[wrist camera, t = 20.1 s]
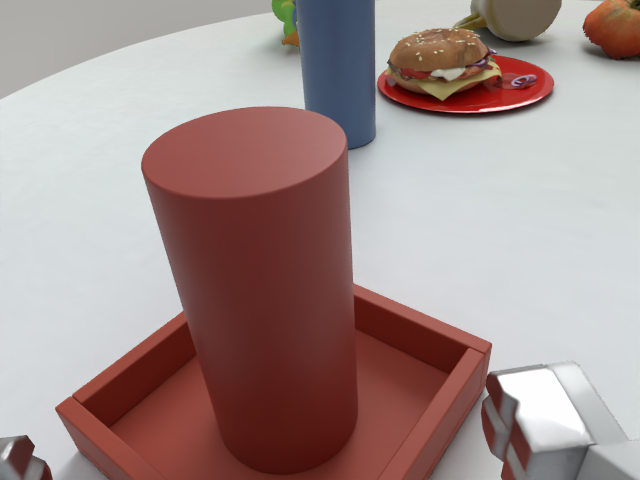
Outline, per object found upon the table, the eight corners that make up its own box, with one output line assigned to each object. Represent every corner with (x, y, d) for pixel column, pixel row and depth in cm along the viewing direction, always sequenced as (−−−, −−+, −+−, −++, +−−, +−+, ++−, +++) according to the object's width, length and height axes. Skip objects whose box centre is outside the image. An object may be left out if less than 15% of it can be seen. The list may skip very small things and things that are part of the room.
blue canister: (349, 156, 34) (343, -10, 29) (293, 140, 37) (277, -15, 31) (388, 129, 37) (389, -26, 32) (334, 116, 40) (326, -30, 34)
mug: (504, 19, 60) (557, -66, 51) (523, 82, 55) (585, 1, 47) (443, 8, 58) (488, -81, 50) (458, 72, 54) (510, -14, 45)
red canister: (223, 491, 16) (133, 216, 10) (215, 371, 20) (146, 121, 14) (376, 454, 17) (373, 174, 11) (339, 344, 20) (321, 95, 15)
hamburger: (460, 134, 36) (469, 44, 32) (345, 82, 46) (341, 9, 42) (591, 85, 41) (610, 3, 38) (463, 48, 51) (468, -19, 48)
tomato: (569, 40, 46) (606, -38, 46) (564, 72, 52) (596, 4, 52) (668, 64, 43) (708, -19, 43) (650, 96, 49) (685, 24, 49)
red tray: (310, 670, 13) (301, 635, 11) (77, 449, 18) (53, 407, 17) (485, 387, 19) (493, 342, 18) (274, 285, 24) (268, 245, 23)
